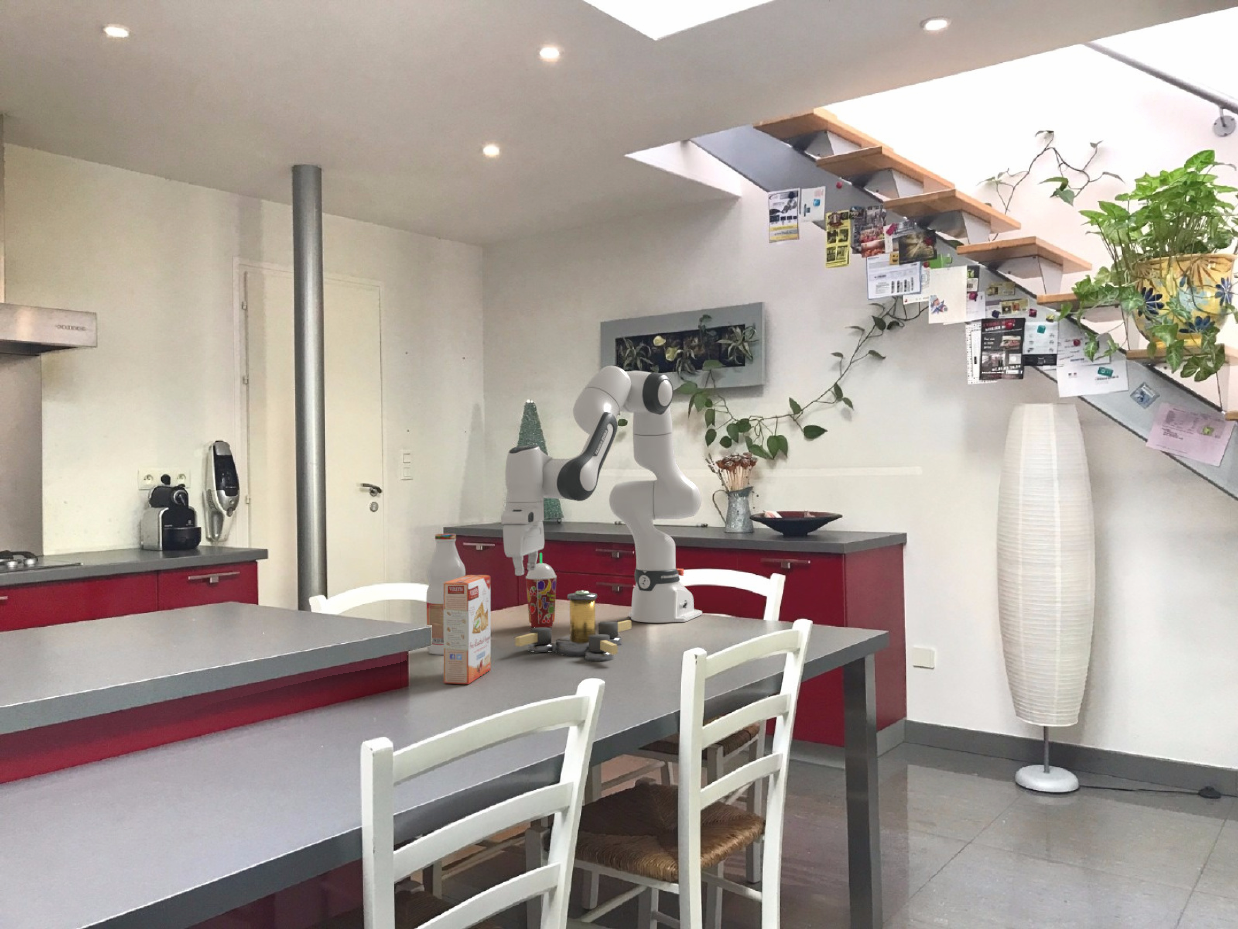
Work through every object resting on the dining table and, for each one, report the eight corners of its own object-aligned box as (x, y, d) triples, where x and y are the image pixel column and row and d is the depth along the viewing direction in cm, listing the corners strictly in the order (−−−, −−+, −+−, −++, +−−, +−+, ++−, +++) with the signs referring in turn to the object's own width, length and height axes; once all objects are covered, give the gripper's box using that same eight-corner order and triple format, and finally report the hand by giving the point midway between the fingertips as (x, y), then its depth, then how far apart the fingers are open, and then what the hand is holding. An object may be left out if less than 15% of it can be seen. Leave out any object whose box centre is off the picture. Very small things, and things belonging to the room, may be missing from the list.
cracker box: (470, 685, 200) (469, 582, 200) (442, 684, 201) (440, 582, 201) (493, 670, 213) (491, 574, 213) (466, 669, 215) (465, 573, 214)
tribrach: (578, 637, 251) (577, 580, 251) (655, 646, 237) (655, 587, 237) (522, 651, 234) (521, 590, 234) (602, 662, 220) (601, 598, 220)
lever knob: (610, 638, 238) (610, 625, 238) (594, 636, 241) (594, 623, 241) (636, 631, 247) (636, 618, 247) (621, 629, 250) (621, 617, 250)
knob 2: (585, 649, 226) (585, 635, 226) (604, 647, 228) (604, 633, 228) (604, 658, 215) (604, 643, 215) (624, 656, 217) (624, 641, 217)
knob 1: (539, 639, 238) (539, 626, 238) (555, 641, 235) (555, 628, 235) (509, 647, 229) (509, 634, 229) (525, 649, 226) (525, 635, 226)
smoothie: (556, 629, 263) (554, 554, 263) (524, 629, 263) (523, 554, 263) (558, 623, 272) (557, 551, 271) (528, 624, 272) (527, 551, 272)
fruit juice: (439, 657, 228) (437, 536, 228) (420, 651, 236) (418, 534, 235) (474, 651, 234) (472, 534, 234) (454, 646, 242) (452, 531, 241)
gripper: (525, 511, 243) (526, 567, 243) (498, 516, 223) (499, 578, 223) (550, 511, 242) (551, 567, 242) (524, 516, 222) (525, 578, 222)
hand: (525, 572), depth 232 cm, fingers open, 8 cm apart
